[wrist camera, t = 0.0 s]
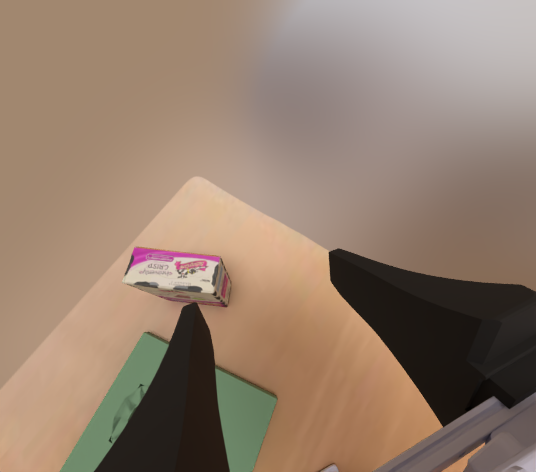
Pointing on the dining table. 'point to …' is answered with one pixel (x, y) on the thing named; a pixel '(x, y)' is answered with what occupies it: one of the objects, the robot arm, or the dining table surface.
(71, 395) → the dining table surface
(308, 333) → the dining table surface
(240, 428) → the putting mat
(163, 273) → the candy bar box
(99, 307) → the dining table surface
